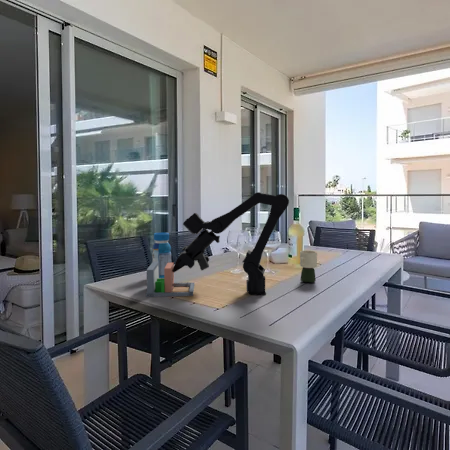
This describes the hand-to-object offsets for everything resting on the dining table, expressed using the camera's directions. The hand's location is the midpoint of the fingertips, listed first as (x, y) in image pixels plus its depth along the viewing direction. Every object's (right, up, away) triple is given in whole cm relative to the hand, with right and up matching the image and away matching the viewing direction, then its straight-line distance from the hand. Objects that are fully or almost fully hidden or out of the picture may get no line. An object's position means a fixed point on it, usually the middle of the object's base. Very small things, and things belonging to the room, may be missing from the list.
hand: (173, 271), depth 140 cm
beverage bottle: (-8, -6, +22) cm, 24 cm away
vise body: (-1, -7, +1) cm, 8 cm away
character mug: (+55, -6, +14) cm, 57 cm away
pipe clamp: (-4, -8, 0) cm, 9 cm away
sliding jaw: (+2, -7, +1) cm, 7 cm away
